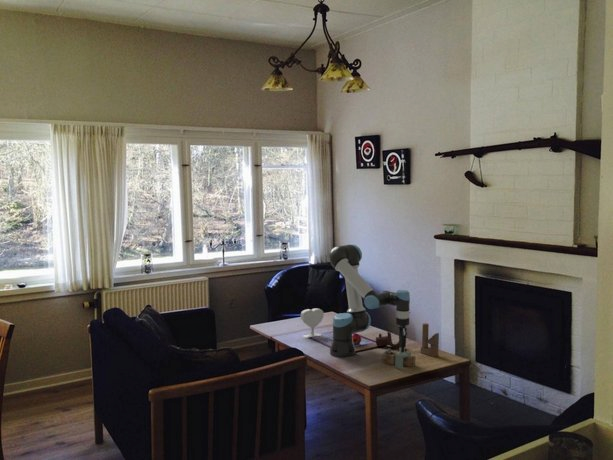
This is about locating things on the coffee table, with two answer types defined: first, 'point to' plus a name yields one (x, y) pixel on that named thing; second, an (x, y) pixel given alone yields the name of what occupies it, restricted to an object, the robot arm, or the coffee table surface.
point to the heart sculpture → (312, 319)
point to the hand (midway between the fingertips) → (402, 357)
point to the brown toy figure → (386, 341)
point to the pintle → (389, 351)
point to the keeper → (400, 359)
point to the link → (391, 359)
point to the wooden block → (429, 342)
